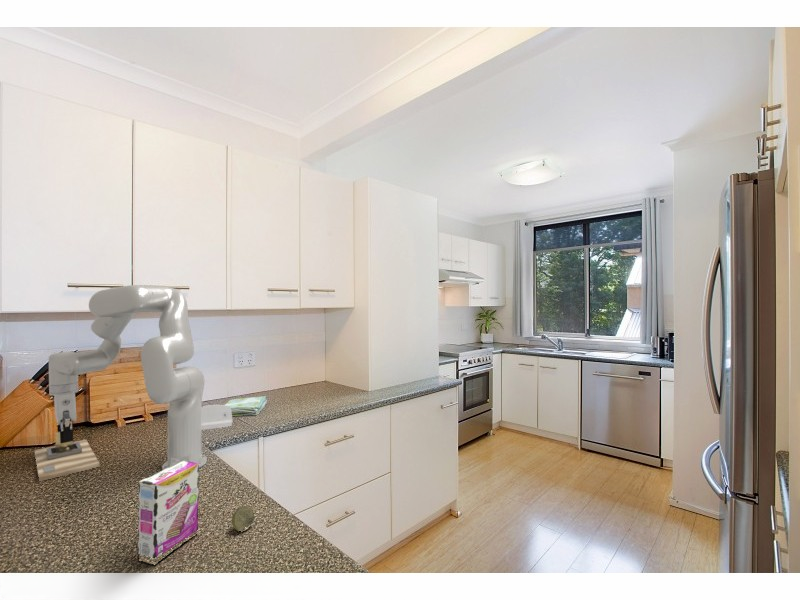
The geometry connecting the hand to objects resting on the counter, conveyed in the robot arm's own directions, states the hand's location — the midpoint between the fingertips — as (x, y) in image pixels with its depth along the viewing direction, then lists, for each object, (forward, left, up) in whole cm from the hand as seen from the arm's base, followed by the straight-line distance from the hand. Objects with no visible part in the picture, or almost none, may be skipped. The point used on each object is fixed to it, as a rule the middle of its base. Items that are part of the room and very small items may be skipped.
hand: (65, 438), depth 131 cm
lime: (-60, -65, -7) cm, 89 cm away
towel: (+44, -51, -7) cm, 68 cm away
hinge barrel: (0, 0, -5) cm, 5 cm away
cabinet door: (-3, -2, -6) cm, 7 cm away
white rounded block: (+22, -41, -7) cm, 47 cm away
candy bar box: (-63, -51, -7) cm, 81 cm away
